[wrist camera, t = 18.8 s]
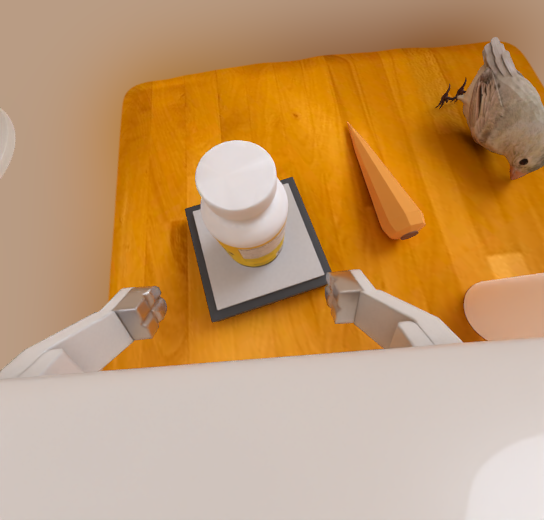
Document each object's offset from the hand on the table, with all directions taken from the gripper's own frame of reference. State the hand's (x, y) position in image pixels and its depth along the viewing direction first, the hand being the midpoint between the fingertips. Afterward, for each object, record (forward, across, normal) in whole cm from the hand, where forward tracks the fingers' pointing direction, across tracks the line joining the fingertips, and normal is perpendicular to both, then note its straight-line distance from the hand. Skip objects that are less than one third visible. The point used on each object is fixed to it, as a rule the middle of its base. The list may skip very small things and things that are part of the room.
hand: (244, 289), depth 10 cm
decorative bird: (+25, -32, -4) cm, 41 cm away
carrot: (+22, -16, -1) cm, 27 cm away
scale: (+15, 0, +6) cm, 16 cm away
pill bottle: (+13, 0, +4) cm, 13 cm away
